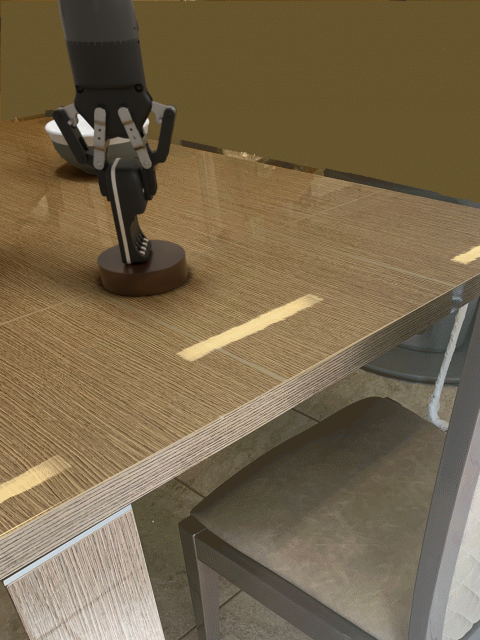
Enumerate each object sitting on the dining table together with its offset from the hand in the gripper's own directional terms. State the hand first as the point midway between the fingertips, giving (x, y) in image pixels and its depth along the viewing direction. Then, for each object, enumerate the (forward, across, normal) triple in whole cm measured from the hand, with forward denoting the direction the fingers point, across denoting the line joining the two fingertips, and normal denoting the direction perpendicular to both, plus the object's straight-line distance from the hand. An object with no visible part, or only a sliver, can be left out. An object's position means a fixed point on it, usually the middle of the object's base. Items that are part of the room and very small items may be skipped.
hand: (131, 198), depth 78 cm
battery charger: (+7, 0, 0) cm, 7 cm away
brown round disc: (+10, 0, 0) cm, 10 cm away
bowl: (+11, -15, +51) cm, 54 cm away
